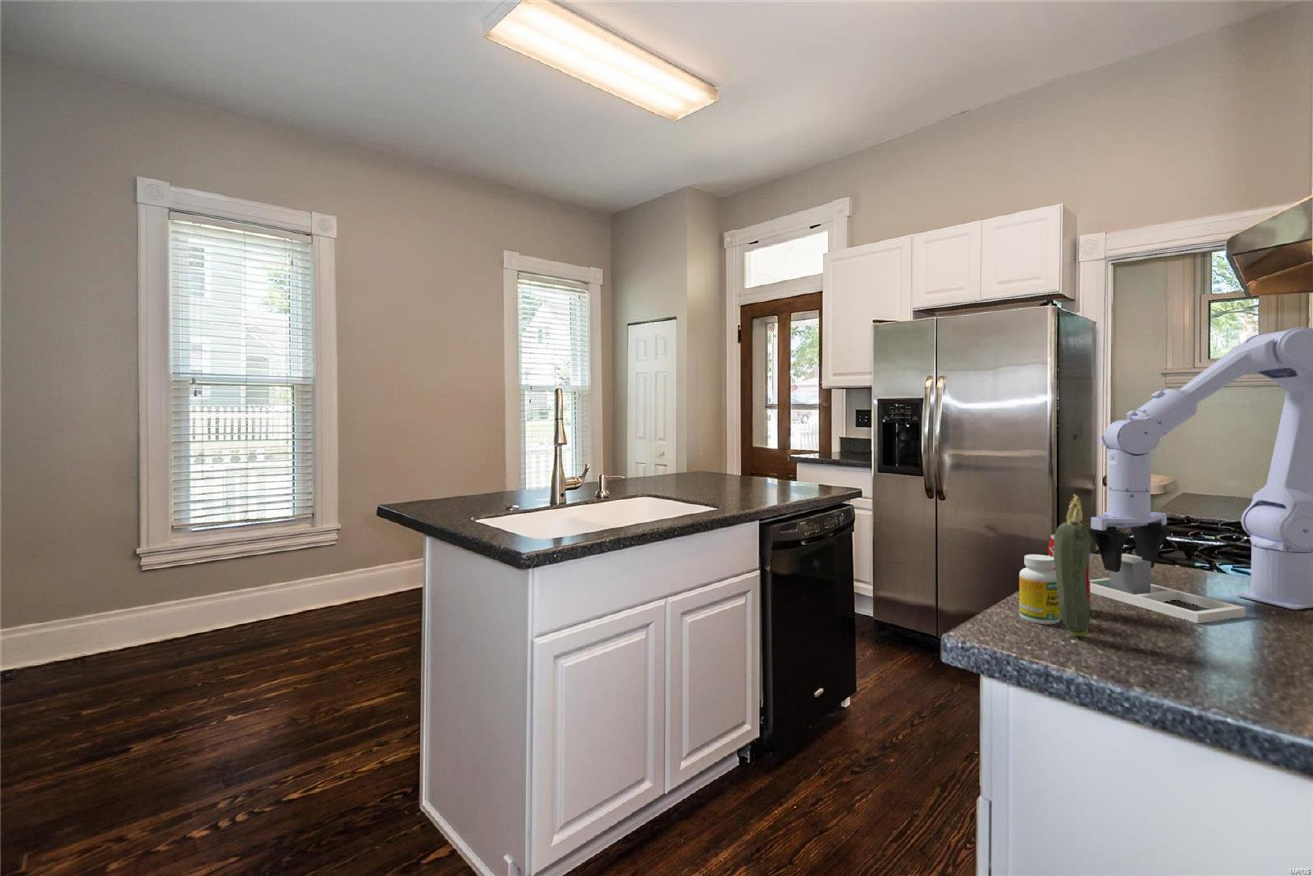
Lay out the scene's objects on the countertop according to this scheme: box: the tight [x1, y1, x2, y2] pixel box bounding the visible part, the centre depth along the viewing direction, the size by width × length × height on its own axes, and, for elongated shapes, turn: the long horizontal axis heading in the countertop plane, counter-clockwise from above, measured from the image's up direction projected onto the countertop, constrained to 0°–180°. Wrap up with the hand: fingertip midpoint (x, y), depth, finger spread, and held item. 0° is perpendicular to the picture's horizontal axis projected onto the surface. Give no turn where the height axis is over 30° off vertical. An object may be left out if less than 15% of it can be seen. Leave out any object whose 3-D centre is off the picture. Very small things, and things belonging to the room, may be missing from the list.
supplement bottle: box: [1018, 553, 1061, 625], centre depth 93 cm, size 5×5×10 cm
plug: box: [1108, 553, 1152, 595], centre depth 105 cm, size 4×4×7 cm
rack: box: [1090, 577, 1247, 624], centre depth 101 cm, size 10×19×1 cm, turn 15°
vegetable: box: [1054, 494, 1092, 638], centre depth 86 cm, size 4×4×20 cm
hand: (1128, 568), depth 105 cm, fingers open, 7 cm apart
